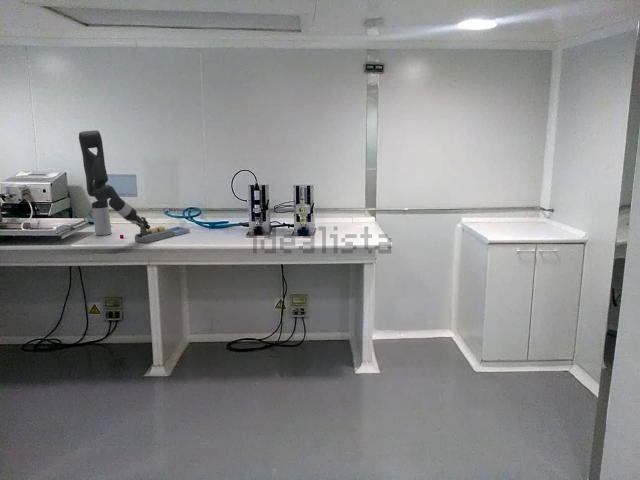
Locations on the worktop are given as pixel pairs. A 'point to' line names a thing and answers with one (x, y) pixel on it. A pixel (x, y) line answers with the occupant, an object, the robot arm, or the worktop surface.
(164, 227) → the chip
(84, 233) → the worktop surface
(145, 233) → the scraper
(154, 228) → the chip
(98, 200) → the robot arm
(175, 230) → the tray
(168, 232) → the slotted plate
